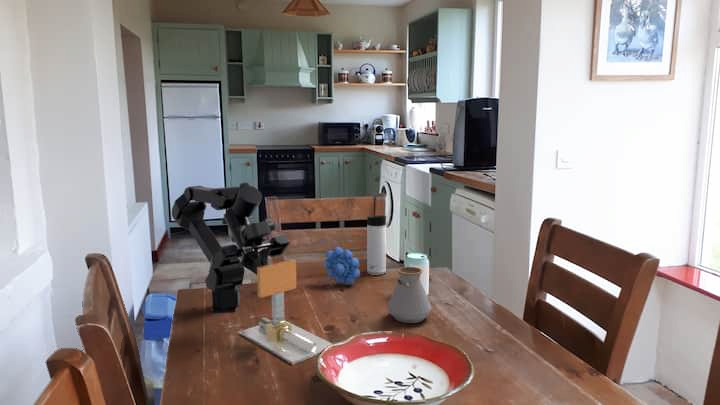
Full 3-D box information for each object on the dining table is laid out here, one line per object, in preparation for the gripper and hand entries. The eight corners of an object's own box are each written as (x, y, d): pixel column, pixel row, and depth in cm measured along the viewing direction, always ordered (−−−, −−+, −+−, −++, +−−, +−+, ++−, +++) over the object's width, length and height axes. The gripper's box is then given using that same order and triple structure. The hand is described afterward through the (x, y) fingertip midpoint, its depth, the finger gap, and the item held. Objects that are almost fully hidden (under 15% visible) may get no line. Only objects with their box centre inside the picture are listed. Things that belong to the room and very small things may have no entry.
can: (418, 289, 160) (419, 251, 158) (433, 296, 154) (434, 256, 152) (399, 293, 157) (400, 254, 155) (413, 300, 151) (414, 259, 149)
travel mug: (373, 277, 172) (373, 217, 169) (363, 272, 178) (363, 213, 175) (389, 274, 175) (390, 215, 172) (379, 269, 181) (380, 212, 178)
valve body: (239, 333, 128) (239, 320, 128) (280, 320, 136) (280, 308, 136) (292, 364, 112) (292, 350, 112) (335, 347, 120) (335, 334, 120)
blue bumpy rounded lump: (320, 287, 162) (319, 249, 160) (326, 280, 169) (325, 244, 167) (357, 290, 160) (357, 251, 158) (361, 283, 166) (361, 246, 165)
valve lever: (258, 328, 123) (256, 266, 121) (293, 317, 130) (292, 258, 127) (262, 330, 122) (260, 268, 119) (297, 319, 129) (296, 260, 126)
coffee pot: (392, 307, 145) (392, 254, 143) (434, 311, 142) (435, 257, 140) (373, 339, 125) (373, 278, 122) (421, 344, 122) (423, 282, 119)
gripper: (217, 213, 122) (244, 269, 116) (284, 204, 135) (311, 254, 129) (203, 240, 129) (227, 295, 123) (268, 229, 142) (293, 278, 136)
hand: (266, 279), depth 127 cm, fingers closed
